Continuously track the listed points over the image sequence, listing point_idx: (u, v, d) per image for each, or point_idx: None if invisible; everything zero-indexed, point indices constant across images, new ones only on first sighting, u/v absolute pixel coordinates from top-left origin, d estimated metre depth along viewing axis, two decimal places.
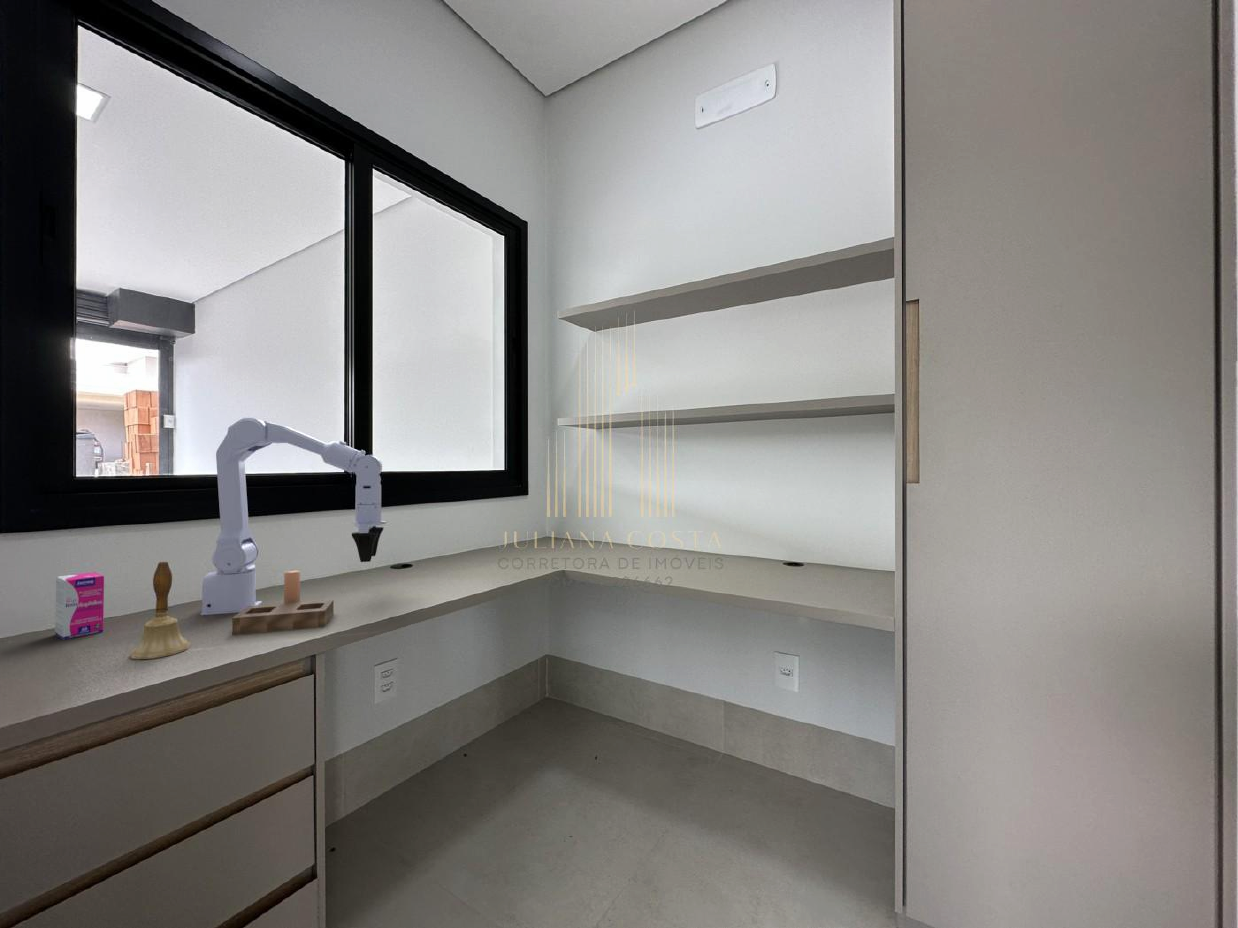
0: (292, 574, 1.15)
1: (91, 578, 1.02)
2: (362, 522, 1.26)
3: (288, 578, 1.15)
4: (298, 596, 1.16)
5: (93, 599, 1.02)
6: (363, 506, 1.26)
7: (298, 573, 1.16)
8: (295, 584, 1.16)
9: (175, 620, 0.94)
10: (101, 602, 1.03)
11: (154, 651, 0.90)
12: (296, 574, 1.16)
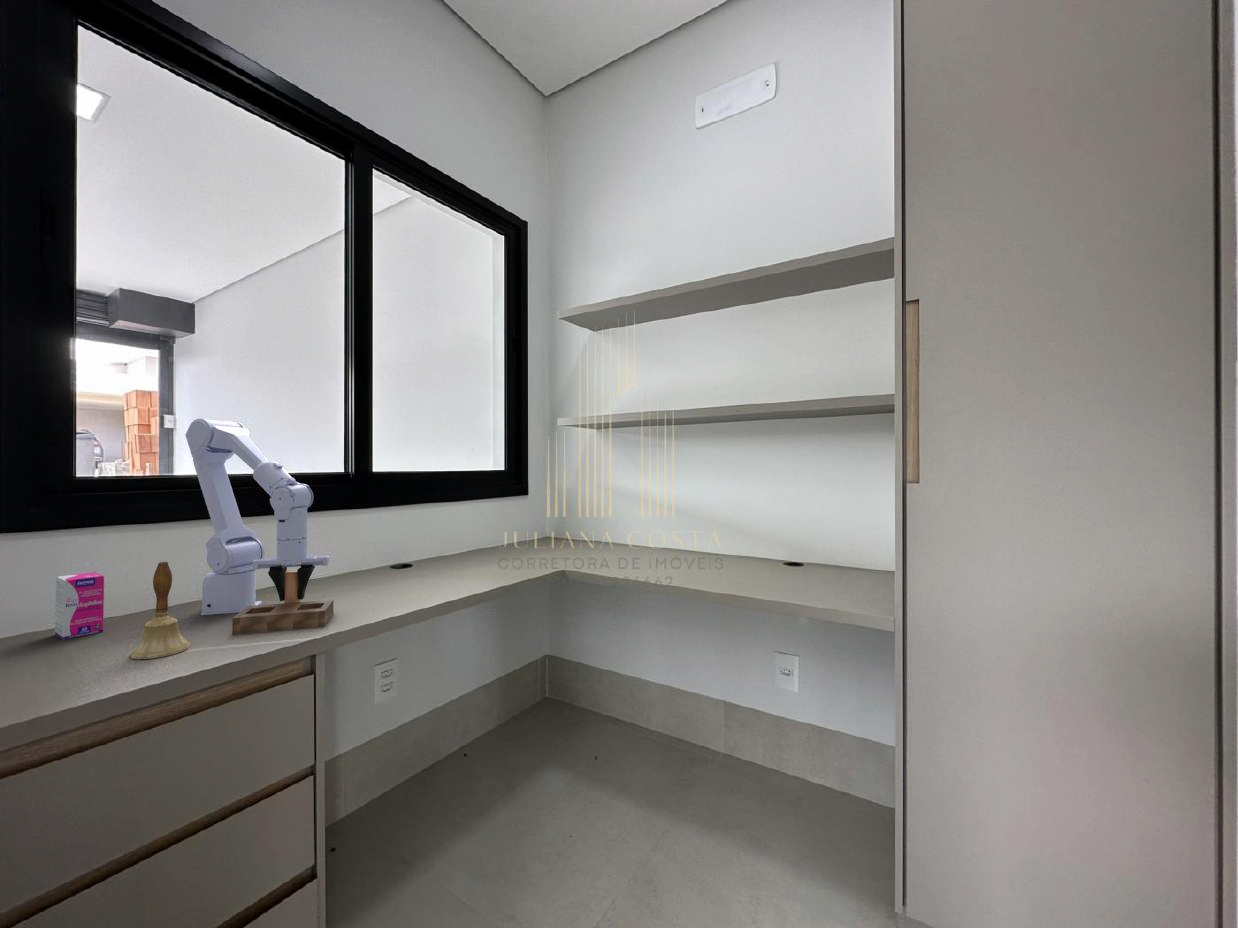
0: (292, 574, 1.15)
1: (91, 578, 1.02)
2: None
3: (288, 578, 1.15)
4: None
5: (93, 599, 1.02)
6: None
7: None
8: (295, 584, 1.16)
9: (175, 620, 0.94)
10: (101, 602, 1.03)
11: (154, 651, 0.90)
12: (296, 574, 1.16)
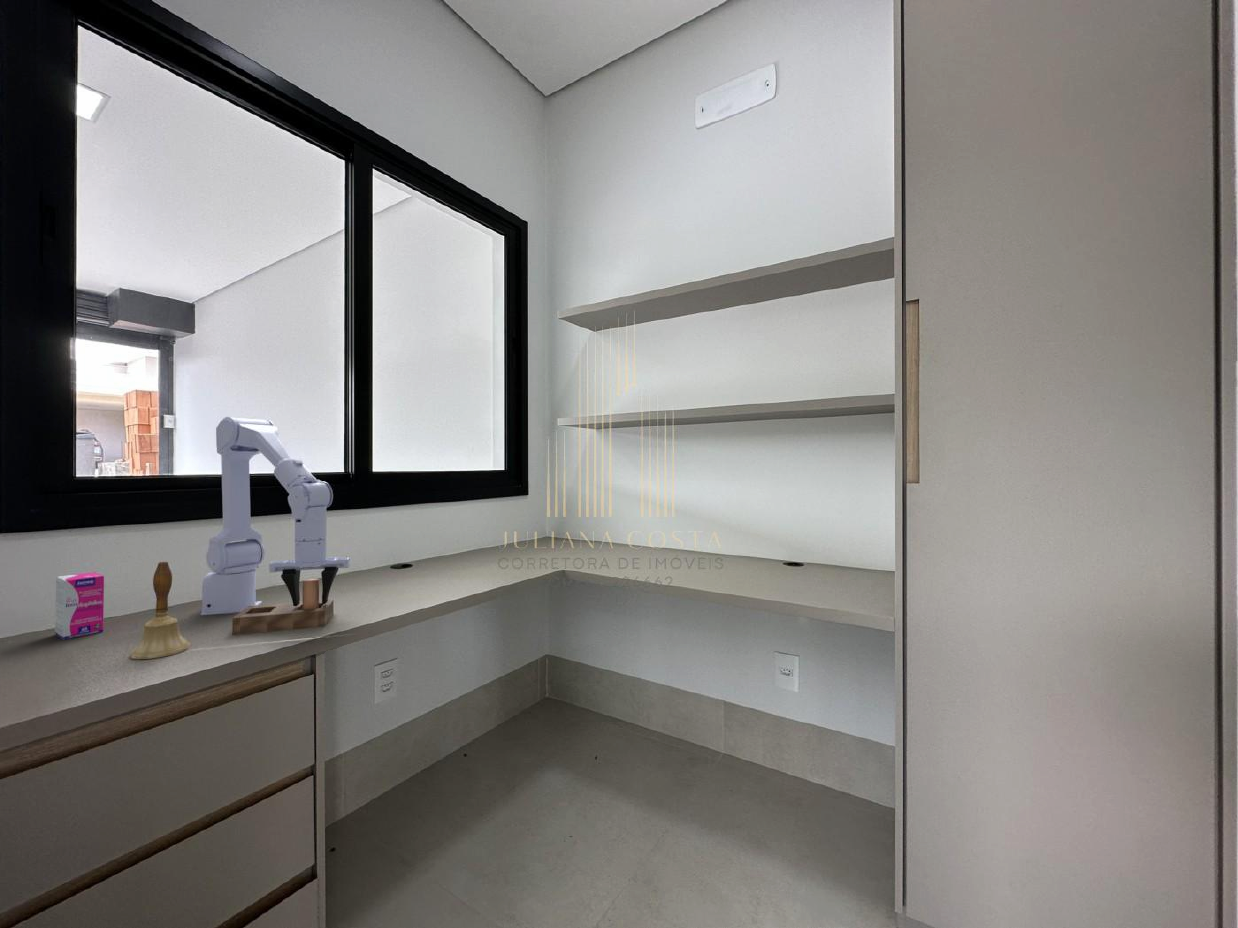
0: (311, 582, 1.09)
1: (91, 578, 1.02)
2: None
3: (307, 587, 1.08)
4: (317, 606, 1.10)
5: (93, 599, 1.02)
6: None
7: (317, 581, 1.10)
8: (315, 593, 1.09)
9: (175, 620, 0.94)
10: (101, 602, 1.03)
11: (154, 651, 0.90)
12: (315, 583, 1.09)
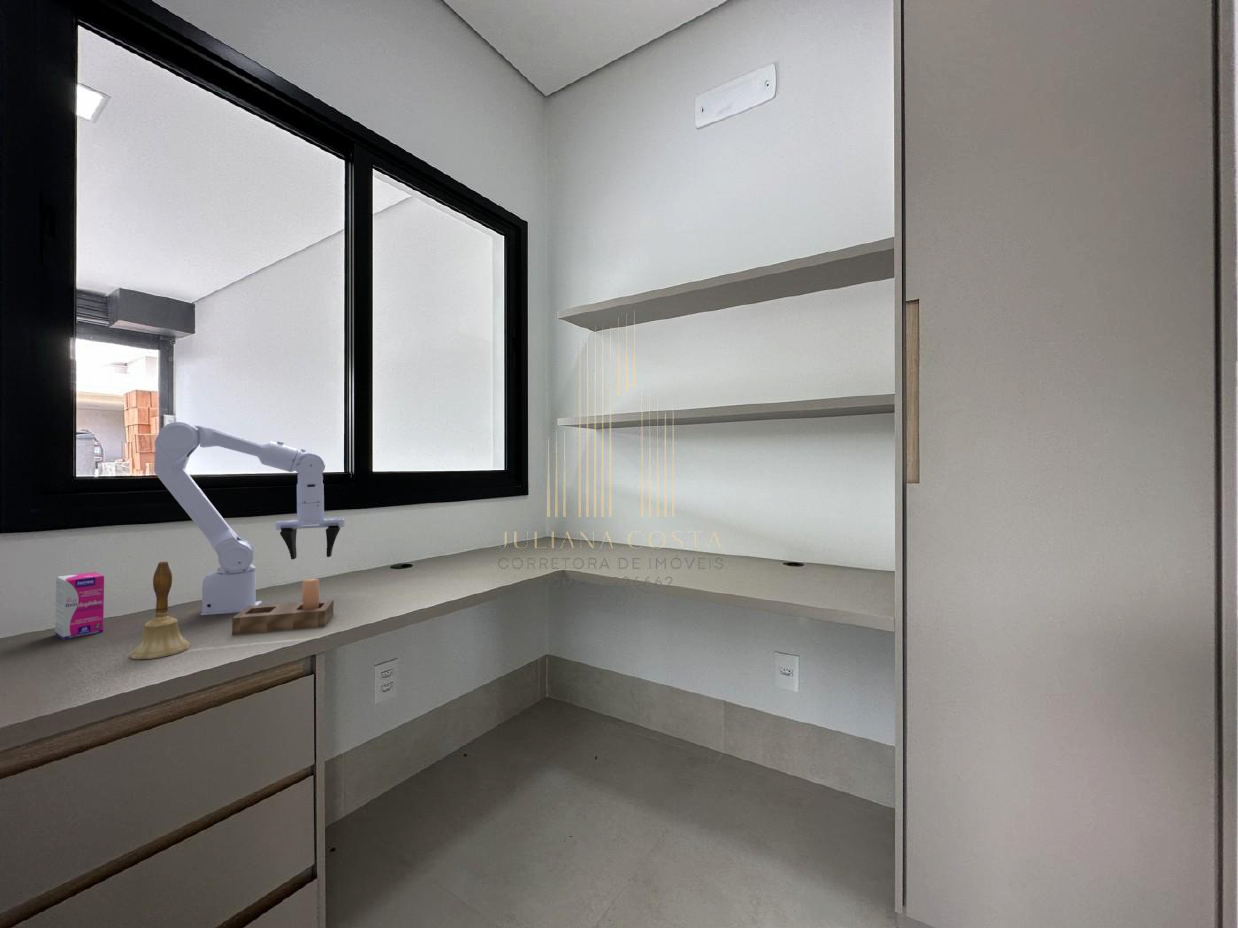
0: (311, 582, 1.09)
1: (91, 578, 1.02)
2: None
3: (307, 586, 1.08)
4: (317, 605, 1.10)
5: (93, 599, 1.02)
6: None
7: (317, 581, 1.10)
8: (315, 593, 1.09)
9: (175, 620, 0.94)
10: (101, 602, 1.03)
11: (154, 651, 0.90)
12: (315, 583, 1.09)
